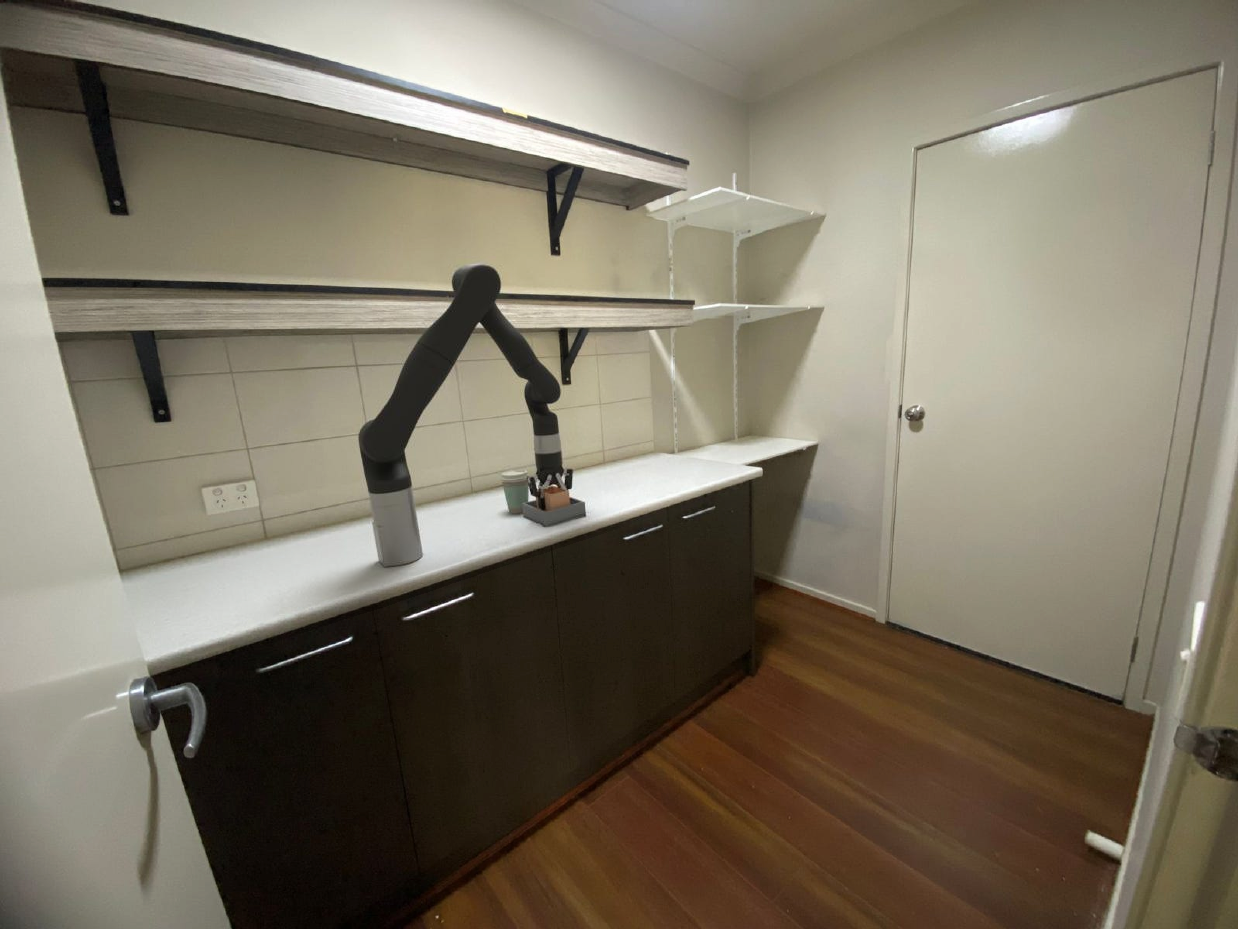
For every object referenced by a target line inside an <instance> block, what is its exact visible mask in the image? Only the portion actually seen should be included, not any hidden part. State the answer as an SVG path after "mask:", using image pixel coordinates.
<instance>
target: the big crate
mask: <svg viewBox="0 0 1238 929" xmlns="http://www.w3.org/2000/svg"><path fill="white" fill-rule="evenodd" d="M569 498H570V505H569V506H565V507H561V508H557V509H554V510H550V511H546V512H544V511H542V510H539V509H537V505H536V499H535V500H530V501H529V500H528V502H525V503H522V509H523V513H522V516H523V517H524V518H526V519H527V520H529V521H532V522H534V523H536V524H539V525H540V526H542V527H545V528H546V527H549V526H553V525H554V526H555V525H557V524H560V523H564V522H568V521H571V520H575V519H578V518H582V517H585V516H586V515H587V514H586V513H587V512H586V502H585V501H583V500H581V499H577V498H574V497H572V496H569Z"/></svg>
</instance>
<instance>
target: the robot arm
mask: <svg viewBox="0 0 1238 929" xmlns="http://www.w3.org/2000/svg"><path fill="white" fill-rule="evenodd" d="M451 286H452V290H453V292H454V297H453V299H452V302H450V304H449V306H448V307H447V309H446V310H445V311H444V312H443V313H442V315H440V316H439V317H438V318H437V319H436V320H435V321H434V322H433V323H432V324H431V325H430V326H429V327H428V328H427V329H426V330H425V331H424V332H423V333H422V334H421V336H420V337H419V339H417V341H416V343H415V345H414V346H413V347H412V350H411V351H410V352H409V354H408V356H407V358H406V360H405V361H404V363H403V366H402V367H401V371H400V373H399V375H398V377H397V381H396V384H395V385H394V388H393V392H392V393H391V395H390V397H389V399H388V401H387V402H386V403H385V405H384V406H383V407H382V408H381V410H380V411H379V413H378V414H377V416H376V417H374V419H371V420H369V421H367V422H365V423H364V424H363V425H362V427H360V430H359V431H358V436H357V438H358V440H357V441H358V445H359V446H358V447H359V451H360V458H361V461H362V462H361V463H362V467H363V468H362V469H363V473H364V479H365V483H366V487H367V491H368V492H367V493H368V496H369V502H370V509H371V514H372V520H373V521H372V522H371V523H372V530H373V536H374V542H375V547H376V553H377V559H378V561H379V563H380V564H381V565H382V567H383V568H387V567H394V566H395V567H397V566H402V565H406V564H410V563H413V562H415V561H417V560H419V559H420V558H421V557H423V553H424V551H423V547H422V540H421V534H420V529H419V528H420V527H419V521H418V516H417V515H418V514H417V509H416V503H415V502H416V501H415V496H414V490H413V483H412V476H411V474H410V473H411V472H410V471H409V466H408V463H407V456H406V449H407V446H408V444H409V441H410V439H411V437H412V434H413V432H414V431H415V429H416V426H417V424H418V422H419V420H420V418H421V416H422V414H424V413H423V412H424V411H425V410H426V408H427V407H428V406H429V404H430V403H431V401H432V400H433V398H434V397H435V396H436V395H437V393H438V391H439V390H440V388H441V387H442V385H443V384H444V382H445V381H446V379H447V377H448V376H449V374H450V373H451V371H452V369H453V367H454V366H455V364H456V362H457V360H458V358H459V357H460V355H461V353H462V352H463V350H464V349H465V347H466V345H467V343H468V341H469V340H470V337H471V336H472V334H473V332H474V331H475V329H476V327H477V326H478V324H480V325H481V326H482V327H483V328H484V330H485V331H486V332H487V334H488V336H490V338H491V339H492V340H493V342H494V343H495V344H496V346H497V348H499V351H500V352H501V353H502V355H503V357H504V358H505V359H506V361H507V362H508V364H509V366H510V367H511V368H512V370H513V371H514V373H515V374H516V375H517V377H518V378H520V379H524V380H526V383H525V386H524V390H523V393H524V394H523V395H524V400H525V404H526V407H527V409H528V412H529V415H530V418H531V420H532V431H533V451H534V460H535V468H536V471H535V472H536V473H535V474H533V475H529V476H527V482H528V486H529V492H530V496H533V497H535V498H536V497H537V498H538V506H539V508H540V509H541V510H543V511H544V510H546V506H545V498H544V496H545V494H544V493H546V490H547V489H548V486H552V485H554V486H557V487H558V488H559V487H560V488H561V489H566V490H569V491H570V490H571V489H572V488H573V476H574V474H573V473H574V470H573V469H572V468H570V467H565V468H564V467H563V463H564V462H563V453H562V442H561V436H560V430H559V419H558V415H557V414H556V413H555V412H553V411H551V410H550V409H549V405H551V404H554V403H557V401H559V399H560V397H561V394H562V393H561V392H562V389H561V386H560V383H559V381H558V380H557V378H556V377H555V376H554V374H553V373H552V372H551V371H550V370H549V369H548V368H547V367H546V366H545V365H544V364H543V363H542V362H541V361H540V360H539V358H538V356H537V355H536V354H535V352H534V350H533V348H532V346H530V344H529V342H528V341H527V340H526V338H525V337H524V335H523V334H521V332H520V331H519V330H518V329H517V328H516V327H515V326H514V325H513V324H512V323H511V322H510V321H509V319H508V318H507V317H506V316H505V315H504V314H503V313H502V310H500V308H499V307H498V305H497V303H496V302H497V299H498V298H499V297H500V296H499V295H500V293H501V288H502V282H501V277H500V274H499V272H498V271H497V270H496V268H495V267H494V266H492V265H489V264H486V263H477V262H476V263H471V264H467V265H462V266H461V267H459V268H457V269H456V270H455V272H454V273H453V275H452V278H451ZM563 476H564V481H563V478H562V477H563ZM537 482H538V485H537ZM537 489H538V491H537Z"/></svg>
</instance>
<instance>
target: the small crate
mask: <svg viewBox="0 0 1238 929" xmlns="http://www.w3.org/2000/svg"><path fill="white" fill-rule="evenodd" d="M537 491H538V488H537ZM544 494H545V496H544V498H545V506H546V510H544V512H546V511H550V510H554V509H557V508H561V507H565V506H569V505H570V498H569V497H570V489H569V490H566V489H561V488H560V487H559V488H558V487H557V486H556V485H551V486H548V489H547V490H546V493H544ZM535 500H536V505H537V509H539V510H541V509H540V508H539V506H538V498H537V497H535ZM542 511H543V510H542Z"/></svg>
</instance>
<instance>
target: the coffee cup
mask: <svg viewBox="0 0 1238 929" xmlns="http://www.w3.org/2000/svg"><path fill="white" fill-rule="evenodd" d="M527 476H530V474H529V472H528V471H527V470H526V469H512V470H507V471H504V472H502V473H501V475H500V482H501V484H502V488H503V492H504V496H505V501H506V506H507V509H508V510H507V511H508V513H509V514H514V515H515V514H516V515H517V514H523V509H522V503H525V502H529V492H530V490H529V486H528V482H527Z"/></svg>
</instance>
